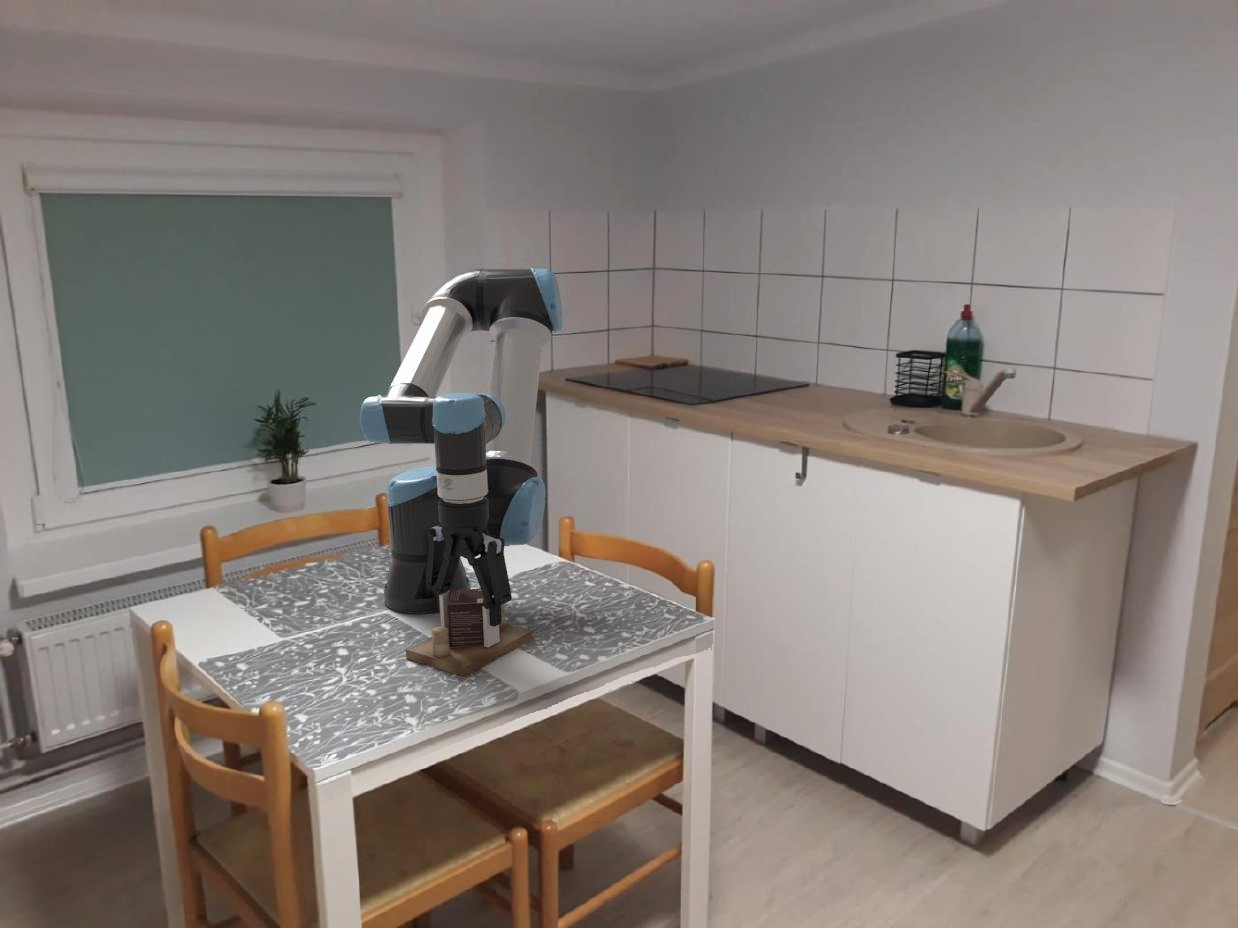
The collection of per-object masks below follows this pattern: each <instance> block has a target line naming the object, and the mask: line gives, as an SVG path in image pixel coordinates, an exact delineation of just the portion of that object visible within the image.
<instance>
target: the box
mask: <svg viewBox="0 0 1238 928" xmlns="http://www.w3.org/2000/svg"><path fill="white" fill-rule="evenodd" d="M484 605H487V604H486V601H485V599H484V596H483V593H482V591H481V588H471V589H463V590H450V592H449V596H448V601H447V610H448V632H449V633H448V634H449V647H450V648H460V647H479V646H481V647H482V646H483V647H484V630H483V609H482V606H484Z"/></svg>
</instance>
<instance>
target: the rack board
mask: <svg viewBox="0 0 1238 928" xmlns="http://www.w3.org/2000/svg"><path fill="white" fill-rule="evenodd" d="M505 604H506V603H504V604H502V605H501V616H502V617H501V618H502V622H501V624H499V638H500V641H499V642H498V643H496V644H494V645H492V646H490V647H483V646H482V647H481V646H479V647H460V648H450V647H449V634H448V628H447V627H441V626H436V627H434V628H432V629H431V636H430V637H428V638H426V639H424V640H422V641H420V642H418V643H416V644H413V645H411V646H410V647H408V648H406V649H405V656H406V657H405V658H406V659H407V660H411V661H414V662H416V663H420V664H423V665H426V666H429V667H432V668H435V669H439V670H442V671H445V672H448V673H452V674H453V675H457V676H461V677H464V678H466V677H467V676H470V675H471V674H474V673H475V672H476V671H479V670H480V669H482V668H484V667H486V666H487V665H489V664H491V663H492V662H495V661H496V660H499V659H500V658H503V656H506V655H507V654H509V653H511V652H512V651H515V650H516V649H518V648H520V647H522V646H524V645H525V644H527V643H529V642H531V641H532V640H534V630H533V629H529V628H525V627H523V626H522V627H521V626H519V625H517V624H511V623H508V622H506V610H505V608H506V605H505Z"/></svg>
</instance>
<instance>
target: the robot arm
mask: <svg viewBox="0 0 1238 928" xmlns="http://www.w3.org/2000/svg"><path fill="white" fill-rule="evenodd" d="M559 287H560V285H559V283H558V279H557V276H556V274H555V273H554V272H553V271H552V270H551V269H548V268H534V267H532V266H531V267H530V268H474V269H469V270H466V271H463V272H460V273H458V274H457V275H455V276H453V277H451V278H449V279H448V280H446V281H444V282H443V283H442V284H441V285H440V286H439V287H438V288H437V289H436V290H434V292H433V293H432V294H431V295H430V296H429V297H428V299H427V301H426V303H425V304H424V306H423V308H422V310H421V313H420V314H421V315H420V320H421V324H420V326H419V328H418V330H417V333H416V335H415V336H414V337H413V340H412V342H411V344H410V345H409V348H408V350H407V352H406V354H405V356H404V358H403V360H402V361H401V364H400V366H399V368H398V369H397V372H396V373H395V375H394V378H393V380H392V381H391V384H390V386H389V387H388V389H387V391H386V393H385V394H384V395H381V394H378V395H377V396H369V397H367V398H365V399H364V400H363V402H362V404H361V407H360V412H359V425H360V429H361V434H362V435H363V437H364V439H365V440H366V441H367V442H370V443H373V444H375V443H377V444H378V443H379V444H387V445H420V444H421V445H434V455H435V465H431V466H425V467H420V468H415V469H411V470H407V471H404V472H402V473H399V474H396V476H393V477H392V478H391V479H390V480H389V482H388V484H387V487H386V488H387V489H386V490H387V492H386V494H387V497H386V499H387V502H386V507H387V516H388V518H387V519H388V529H389V530H388V531H389V543H390V554H391V561H390V564H389V569H388V574H387V578H386V579H387V580H386V582H385V585H384V586H383V587H384V588H383V600H384V604H385V605H386V607H387V608H389V609H391V610H392V611H396V612H400V613H406V614H430V613H431V614H432V613H440V627H447V628H448V610H447V601H448V596H449V592H450V590H463V589H472V588H471V587H472V586H471V582H470V579H469V576H467V573H466V570H465V567H464V564H463V562H462V558H464V559H466V560H467V563H468V565H469V566H470V567H472V568H473V571H474V575H475V577H476V580H477V583H478V584H479V587H480V588H479V589H481V591H482V593H483V596H484V599H485V601H486V604H487V605H484V606H482V609H483V630H484V647H490V646H492V645H494V644H496V643H498V642H499V641H500V638H499V624H501V622H502V618H501V617H502V616H501V605H502V604H506V603H508V602H510V601H512V599H513V596H512V591H511V586H510V585H511V584H510V579H509V574H508V570H507V569H508V567H507V564H506V559H505V554H504V552H505V547H511V546H524V545H527V544H531V542H533V541H534V540H535V538H536V537H537V536H538V534H539V531H540V528H541V525H542V523H543V519H544V515H545V513H544V512H545V507H546V501H545V500H546V493H547V491H546V485H545V482H544V481H543V479H542V478H539V477H538V469H537V468H536V467H535V466H534V465H533V464H532V463H531V457H532V449H533V439H534V437H533V436H534V428H535V421H536V420H535V419H536V418H535V417H536V409H537V400H538V391H539V383H540V374H541V373H540V372H541V371H540V370H541V361H542V352H543V348H545V347H547V346H548V345H549V344H550V343H551V341H552V335H553V332H554V333H557V332H559V331H561V330H562V327H563V310H562V309H563V308H562V301H561V300H562V299H561V293H560V288H559ZM478 331H479V332H483V331H485V332H489V337H490V338H491V339H492V340H493V341H494V342H495V347H494V348H495V349H494V355H493V356H494V357H493V362H492V363H493V364H492V371H491V379H490V387H489V393H485V392H482V393H473V392H451V393H450V392H449V393H446V394H440V395H438V392H439V390H440V388H441V386H442V383H443V381H444V379H445V377H446V375H447V373H448V370H449V368H450V365H451V363H452V361H453V359H454V357H455V354H456V353H457V350H458V348H459V345H460V343H461V342H462V341H464V340H466V339H467V338H468V337H469V336H470V334H471V333H472V332H478ZM437 395H438V396H437ZM478 556H479V557H478ZM461 557H462V558H461ZM448 633H449V632H448Z"/></svg>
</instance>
